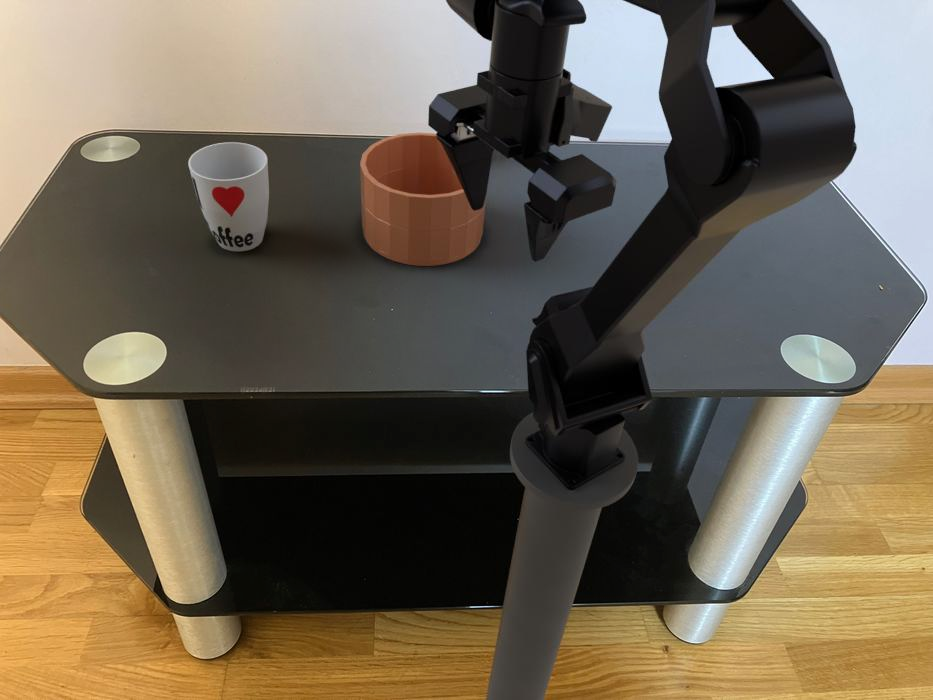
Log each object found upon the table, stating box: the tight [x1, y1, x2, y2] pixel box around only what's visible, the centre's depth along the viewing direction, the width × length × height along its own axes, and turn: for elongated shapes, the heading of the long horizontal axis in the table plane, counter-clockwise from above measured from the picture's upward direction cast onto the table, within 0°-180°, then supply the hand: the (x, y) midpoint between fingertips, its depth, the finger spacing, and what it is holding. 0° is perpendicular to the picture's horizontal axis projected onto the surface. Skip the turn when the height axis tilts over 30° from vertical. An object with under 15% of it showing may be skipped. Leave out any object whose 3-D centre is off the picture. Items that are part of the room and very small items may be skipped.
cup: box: [187, 141, 270, 252], centre depth 86 cm, size 8×8×10 cm
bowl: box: [359, 132, 487, 267], centre depth 90 cm, size 14×14×9 cm
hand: (506, 233), depth 71 cm, fingers open, 9 cm apart
